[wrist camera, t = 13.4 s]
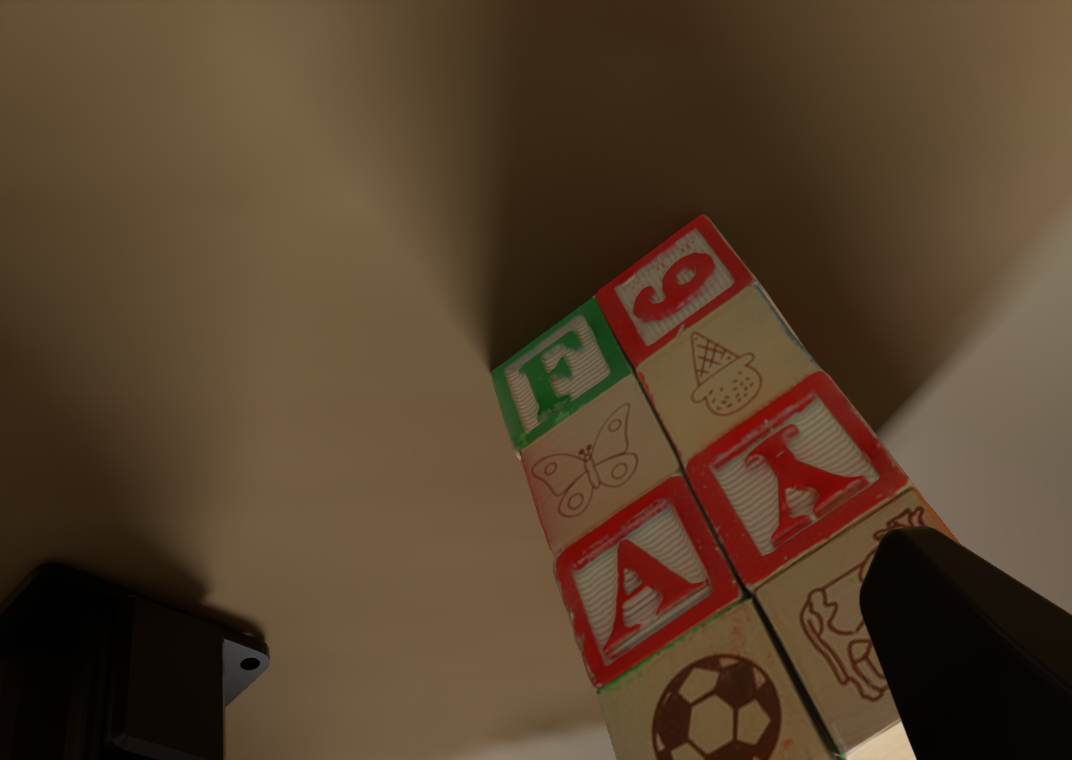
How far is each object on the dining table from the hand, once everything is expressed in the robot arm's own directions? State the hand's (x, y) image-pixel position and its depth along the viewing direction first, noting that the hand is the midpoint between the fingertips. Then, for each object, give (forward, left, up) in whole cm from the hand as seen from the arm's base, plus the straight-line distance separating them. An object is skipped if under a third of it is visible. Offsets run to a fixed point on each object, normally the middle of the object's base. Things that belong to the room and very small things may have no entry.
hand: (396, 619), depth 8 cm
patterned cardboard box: (-2, -19, -13) cm, 23 cm away
